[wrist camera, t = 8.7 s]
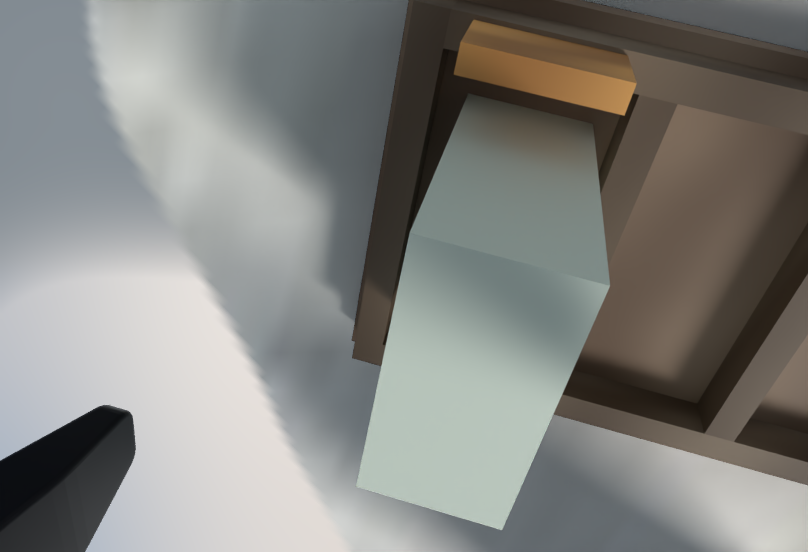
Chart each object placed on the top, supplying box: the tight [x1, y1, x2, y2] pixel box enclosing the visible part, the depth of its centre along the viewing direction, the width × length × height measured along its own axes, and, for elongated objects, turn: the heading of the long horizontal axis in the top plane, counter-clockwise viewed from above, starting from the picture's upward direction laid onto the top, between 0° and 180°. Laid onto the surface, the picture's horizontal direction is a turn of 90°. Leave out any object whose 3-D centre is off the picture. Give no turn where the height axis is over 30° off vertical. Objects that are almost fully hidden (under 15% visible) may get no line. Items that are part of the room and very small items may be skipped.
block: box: [356, 93, 610, 530], centre depth 14 cm, size 3×6×7 cm, turn 170°
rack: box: [352, 0, 808, 485], centre depth 15 cm, size 16×11×4 cm, turn 80°
